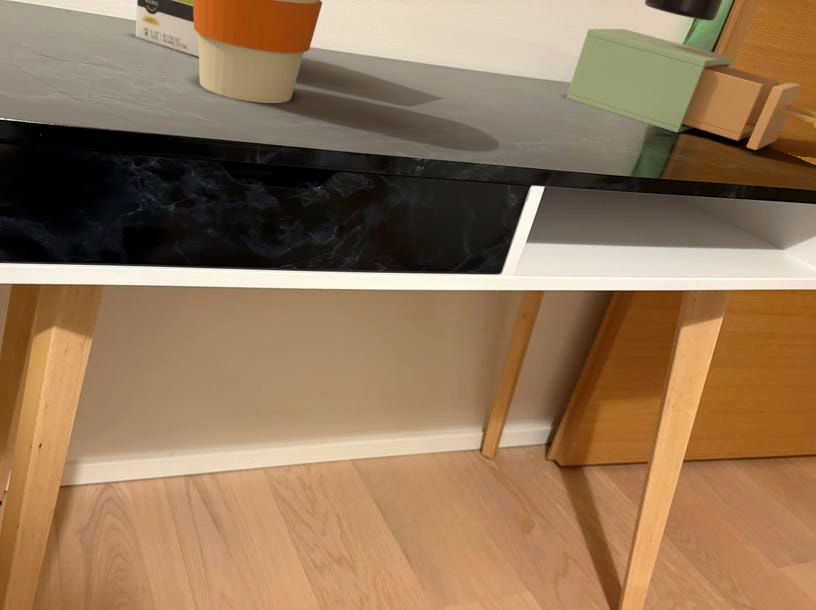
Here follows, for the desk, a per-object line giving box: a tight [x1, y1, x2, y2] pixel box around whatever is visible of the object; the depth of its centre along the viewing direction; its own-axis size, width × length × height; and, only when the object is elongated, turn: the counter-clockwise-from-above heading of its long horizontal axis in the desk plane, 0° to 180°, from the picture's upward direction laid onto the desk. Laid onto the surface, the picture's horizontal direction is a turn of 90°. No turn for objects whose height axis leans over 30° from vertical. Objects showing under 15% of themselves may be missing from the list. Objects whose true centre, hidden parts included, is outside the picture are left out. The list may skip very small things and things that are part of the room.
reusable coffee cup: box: [193, 0, 323, 104], centre depth 75 cm, size 13×12×15 cm
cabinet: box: [566, 28, 734, 134], centre depth 108 cm, size 16×14×9 cm
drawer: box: [683, 65, 816, 151], centre depth 102 cm, size 20×12×7 cm, turn 52°
